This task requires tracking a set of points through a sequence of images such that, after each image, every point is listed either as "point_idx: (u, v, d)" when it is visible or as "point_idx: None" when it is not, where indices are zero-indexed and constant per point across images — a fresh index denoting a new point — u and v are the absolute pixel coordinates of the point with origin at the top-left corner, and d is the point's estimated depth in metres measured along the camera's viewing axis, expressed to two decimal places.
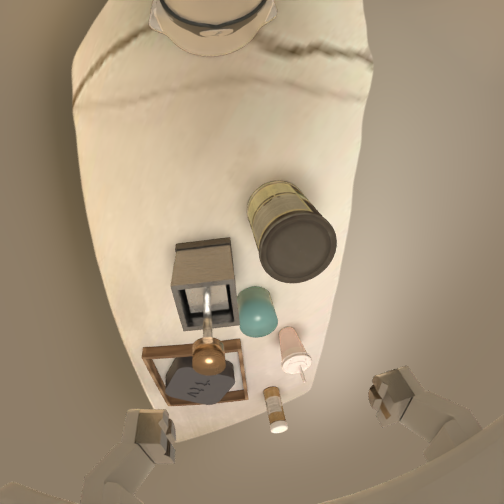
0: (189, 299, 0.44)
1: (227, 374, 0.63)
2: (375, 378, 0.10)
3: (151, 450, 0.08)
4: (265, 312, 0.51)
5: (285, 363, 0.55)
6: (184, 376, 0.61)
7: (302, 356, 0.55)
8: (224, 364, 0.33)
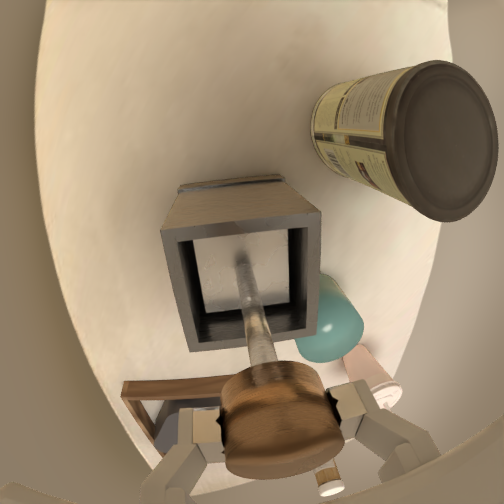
0: (204, 279, 0.20)
1: None
2: (327, 391, 0.10)
3: (209, 449, 0.08)
4: (346, 314, 0.26)
5: None
6: None
7: (392, 387, 0.29)
8: (339, 446, 0.08)
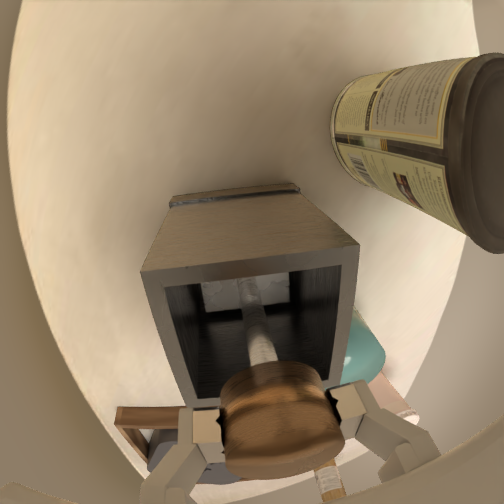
0: None
1: None
2: (327, 391, 0.10)
3: (209, 449, 0.08)
4: (368, 347, 0.22)
5: None
6: None
7: (410, 417, 0.24)
8: (340, 446, 0.08)
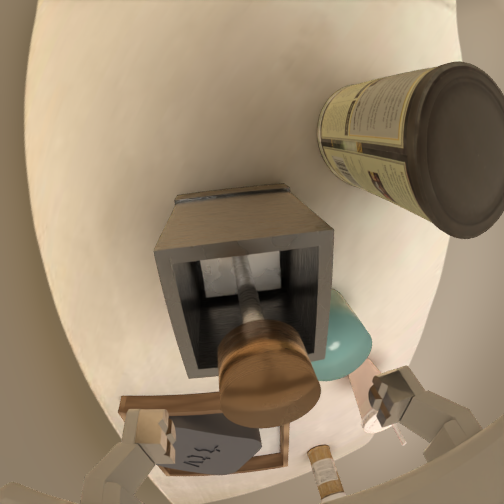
0: (204, 266, 0.23)
1: (248, 435, 0.33)
2: (375, 378, 0.10)
3: (151, 450, 0.08)
4: (355, 332, 0.24)
5: (372, 418, 0.27)
6: None
7: None
8: (317, 393, 0.10)
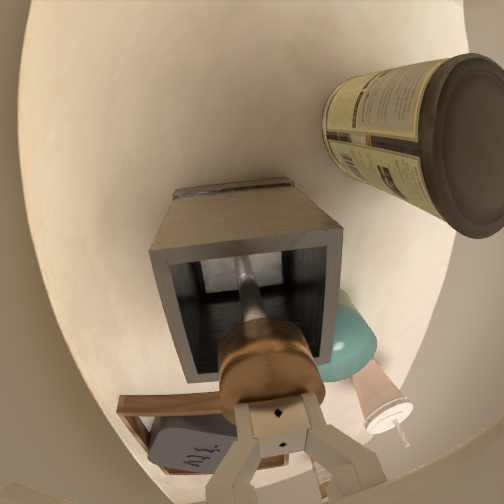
0: (204, 261, 0.22)
1: None
2: None
3: (268, 443, 0.08)
4: (359, 332, 0.23)
5: (375, 419, 0.26)
6: (173, 440, 0.31)
7: (403, 404, 0.26)
8: (321, 395, 0.10)
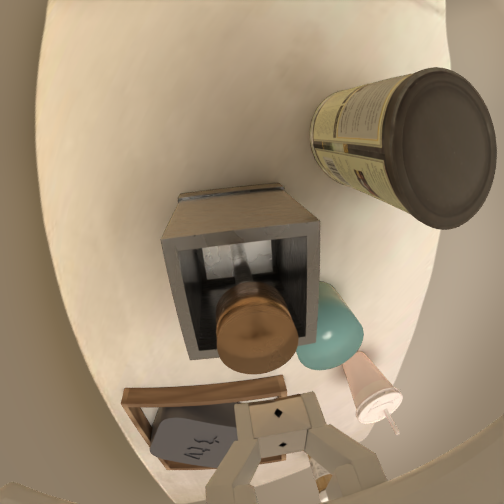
0: (206, 251, 0.26)
1: None
2: None
3: (268, 443, 0.08)
4: (346, 321, 0.26)
5: (366, 408, 0.29)
6: (174, 431, 0.33)
7: (392, 394, 0.28)
8: (295, 340, 0.14)
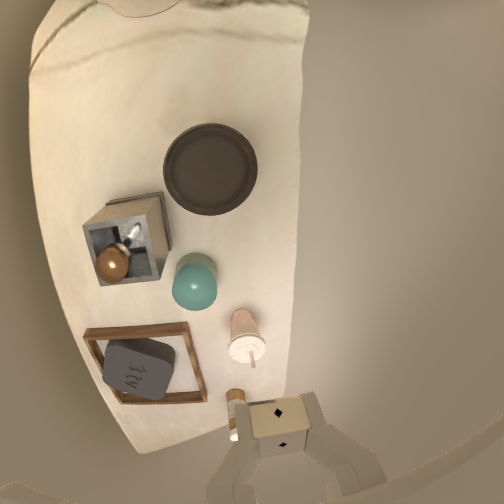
0: (121, 233, 0.43)
1: (162, 357, 0.52)
2: None
3: (268, 443, 0.08)
4: (199, 276, 0.43)
5: (232, 346, 0.46)
6: (115, 358, 0.51)
7: (252, 338, 0.46)
8: (124, 267, 0.31)
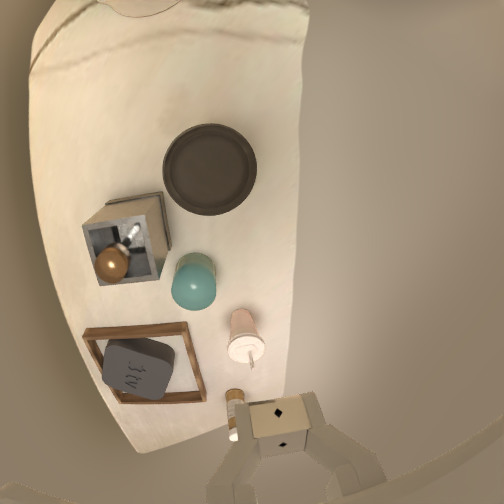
0: (120, 232, 0.43)
1: (161, 357, 0.52)
2: None
3: (268, 443, 0.08)
4: (199, 276, 0.43)
5: (231, 346, 0.46)
6: (114, 358, 0.51)
7: (251, 338, 0.46)
8: (123, 267, 0.31)
